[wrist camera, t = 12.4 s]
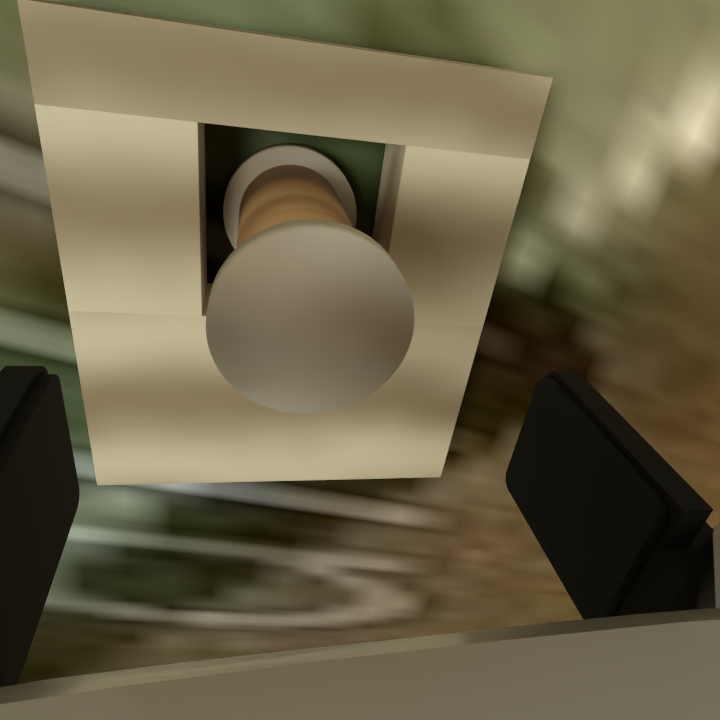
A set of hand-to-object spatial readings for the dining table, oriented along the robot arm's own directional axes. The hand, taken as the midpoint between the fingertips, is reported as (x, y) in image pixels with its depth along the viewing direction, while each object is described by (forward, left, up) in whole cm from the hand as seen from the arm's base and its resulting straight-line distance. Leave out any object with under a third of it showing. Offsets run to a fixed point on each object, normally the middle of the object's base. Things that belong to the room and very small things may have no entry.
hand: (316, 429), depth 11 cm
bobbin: (0, 0, -14) cm, 13 cm away
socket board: (-3, 0, -13) cm, 14 cm away
